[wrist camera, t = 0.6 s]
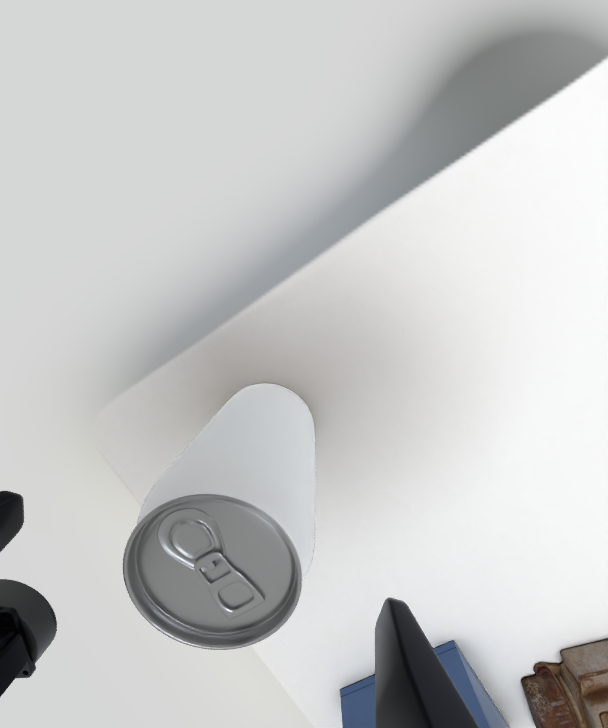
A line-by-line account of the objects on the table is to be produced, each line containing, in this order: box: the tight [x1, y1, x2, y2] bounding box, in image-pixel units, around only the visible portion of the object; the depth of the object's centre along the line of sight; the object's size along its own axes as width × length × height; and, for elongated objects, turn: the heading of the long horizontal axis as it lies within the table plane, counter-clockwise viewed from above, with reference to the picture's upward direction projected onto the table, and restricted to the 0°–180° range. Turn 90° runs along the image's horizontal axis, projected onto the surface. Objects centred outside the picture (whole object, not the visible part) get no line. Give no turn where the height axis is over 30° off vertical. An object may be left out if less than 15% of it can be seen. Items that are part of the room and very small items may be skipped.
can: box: [123, 383, 315, 650], centre depth 16 cm, size 6×6×12 cm
